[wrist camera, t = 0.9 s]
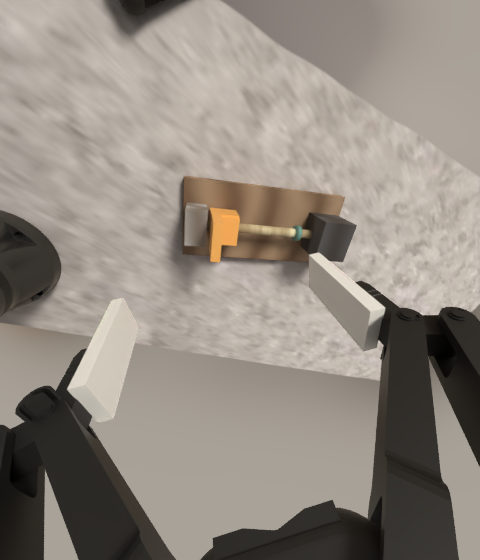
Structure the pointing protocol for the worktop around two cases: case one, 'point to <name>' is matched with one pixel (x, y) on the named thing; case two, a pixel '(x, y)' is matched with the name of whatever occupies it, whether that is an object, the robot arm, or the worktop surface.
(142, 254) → the worktop surface
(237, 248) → the rail
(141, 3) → the door handle
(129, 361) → the robot arm
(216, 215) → the orange sliding rod block
